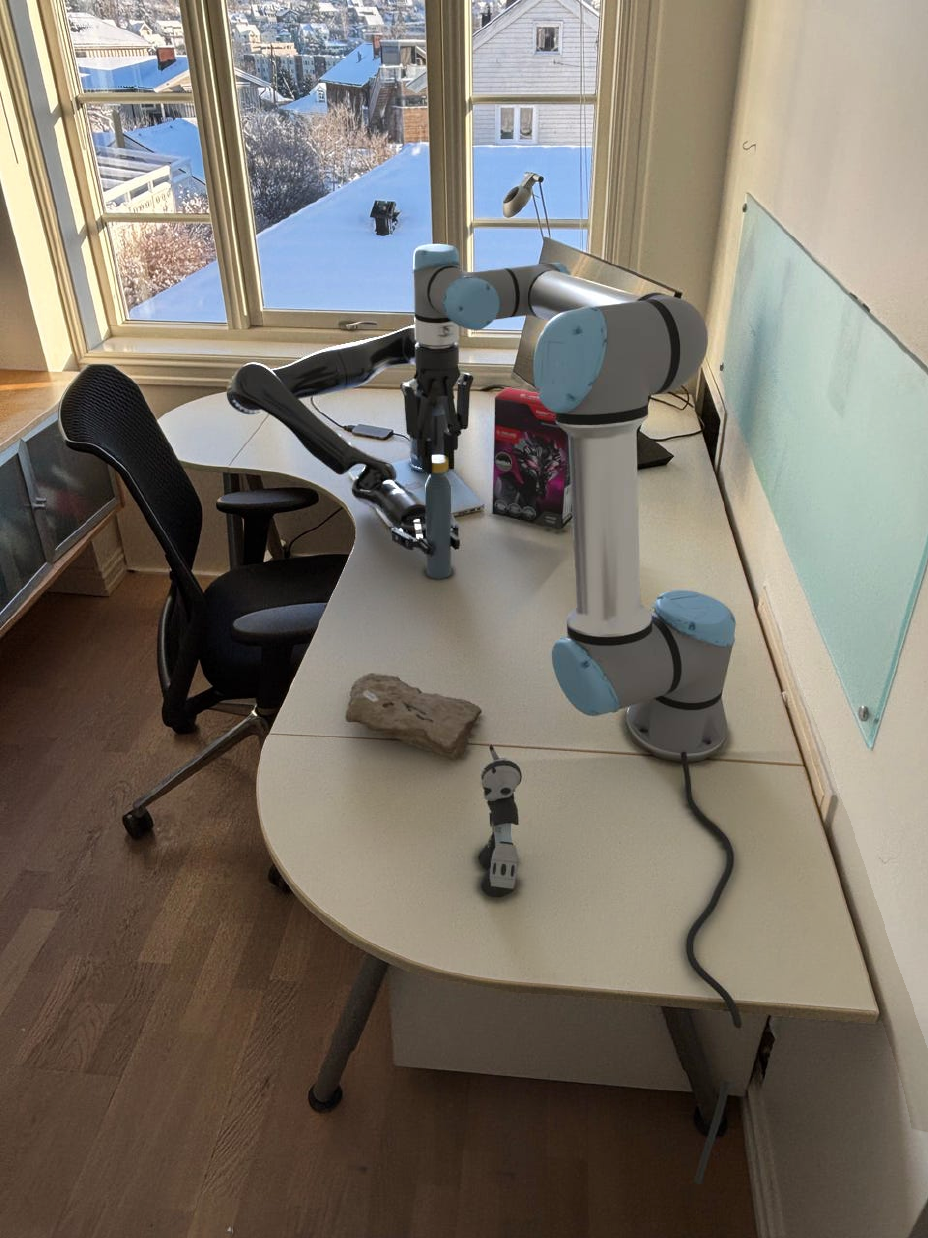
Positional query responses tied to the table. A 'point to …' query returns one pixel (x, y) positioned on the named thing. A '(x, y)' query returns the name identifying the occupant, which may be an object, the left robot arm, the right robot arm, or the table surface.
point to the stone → (412, 714)
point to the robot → (500, 825)
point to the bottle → (438, 524)
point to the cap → (440, 463)
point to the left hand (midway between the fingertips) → (445, 548)
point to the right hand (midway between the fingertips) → (437, 468)
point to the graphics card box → (530, 461)
